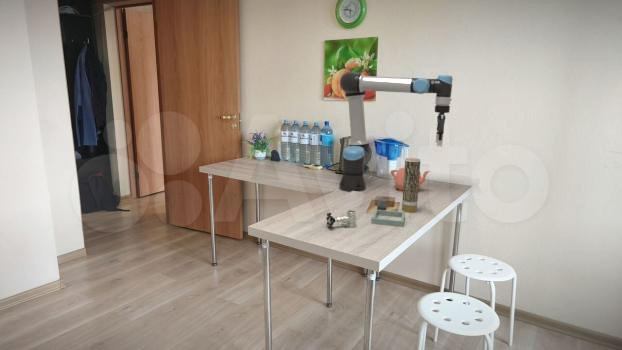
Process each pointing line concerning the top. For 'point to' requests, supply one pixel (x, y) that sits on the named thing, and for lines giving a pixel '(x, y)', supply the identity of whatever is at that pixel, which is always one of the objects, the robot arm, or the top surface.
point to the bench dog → (382, 204)
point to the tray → (387, 221)
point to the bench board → (396, 206)
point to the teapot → (400, 178)
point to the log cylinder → (411, 185)
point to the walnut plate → (389, 200)
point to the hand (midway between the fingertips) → (438, 144)
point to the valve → (342, 219)
